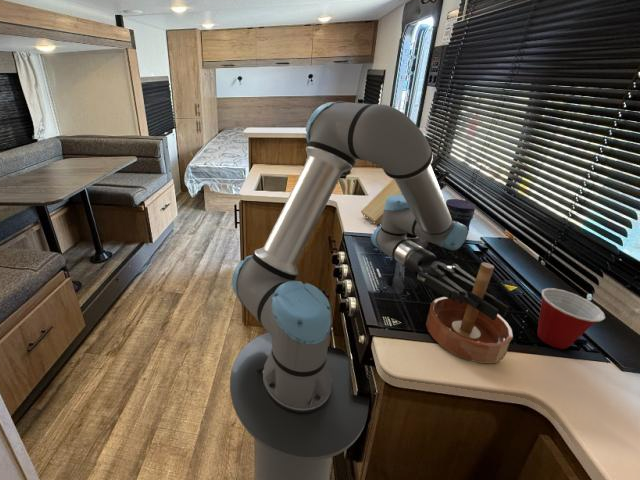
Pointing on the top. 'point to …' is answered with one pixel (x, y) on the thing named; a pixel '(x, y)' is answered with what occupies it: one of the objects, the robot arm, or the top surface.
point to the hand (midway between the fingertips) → (500, 313)
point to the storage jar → (461, 211)
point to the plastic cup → (565, 317)
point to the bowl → (484, 350)
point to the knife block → (378, 203)
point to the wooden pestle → (467, 324)
